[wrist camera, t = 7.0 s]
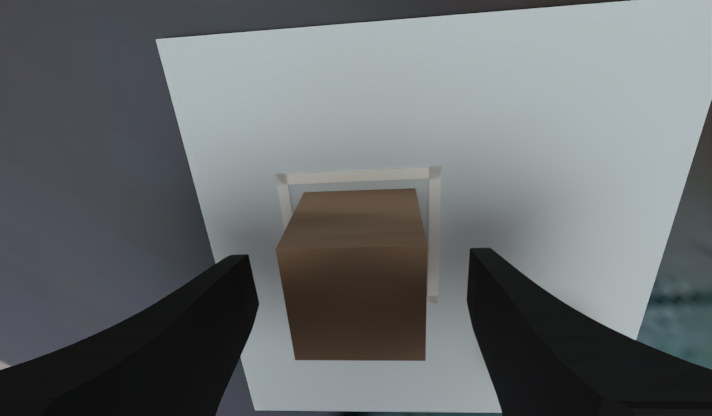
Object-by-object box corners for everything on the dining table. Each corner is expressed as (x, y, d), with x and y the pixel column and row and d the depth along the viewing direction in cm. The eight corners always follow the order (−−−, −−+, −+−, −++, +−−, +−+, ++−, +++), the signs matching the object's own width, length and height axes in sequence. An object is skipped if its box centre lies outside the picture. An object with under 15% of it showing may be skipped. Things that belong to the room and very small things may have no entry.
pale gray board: (605, 402, 18) (613, 416, 17) (258, 399, 19) (254, 412, 19) (727, -7, 11) (748, -9, 10) (165, 38, 12) (153, 39, 12)
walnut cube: (414, 281, 15) (425, 360, 11) (315, 282, 15) (295, 360, 12) (415, 188, 13) (427, 246, 10) (303, 192, 14) (275, 249, 10)
